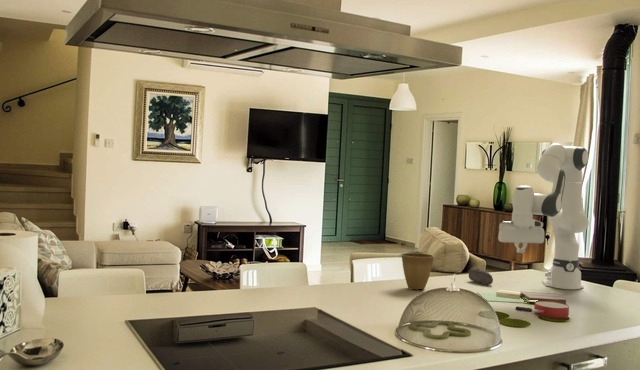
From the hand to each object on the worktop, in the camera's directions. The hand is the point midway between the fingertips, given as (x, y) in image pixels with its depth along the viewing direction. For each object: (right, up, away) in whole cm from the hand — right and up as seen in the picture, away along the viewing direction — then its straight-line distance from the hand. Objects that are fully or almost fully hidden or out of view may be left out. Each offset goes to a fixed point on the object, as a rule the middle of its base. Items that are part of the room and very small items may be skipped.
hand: (520, 252), depth 278 cm
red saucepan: (-4, -22, -36) cm, 42 cm away
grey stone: (-8, -20, +36) cm, 42 cm away
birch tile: (-4, -20, +4) cm, 21 cm away
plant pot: (-45, -19, +13) cm, 50 cm away
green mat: (-8, -20, +1) cm, 22 cm away
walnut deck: (+10, -21, 0) cm, 23 cm away
